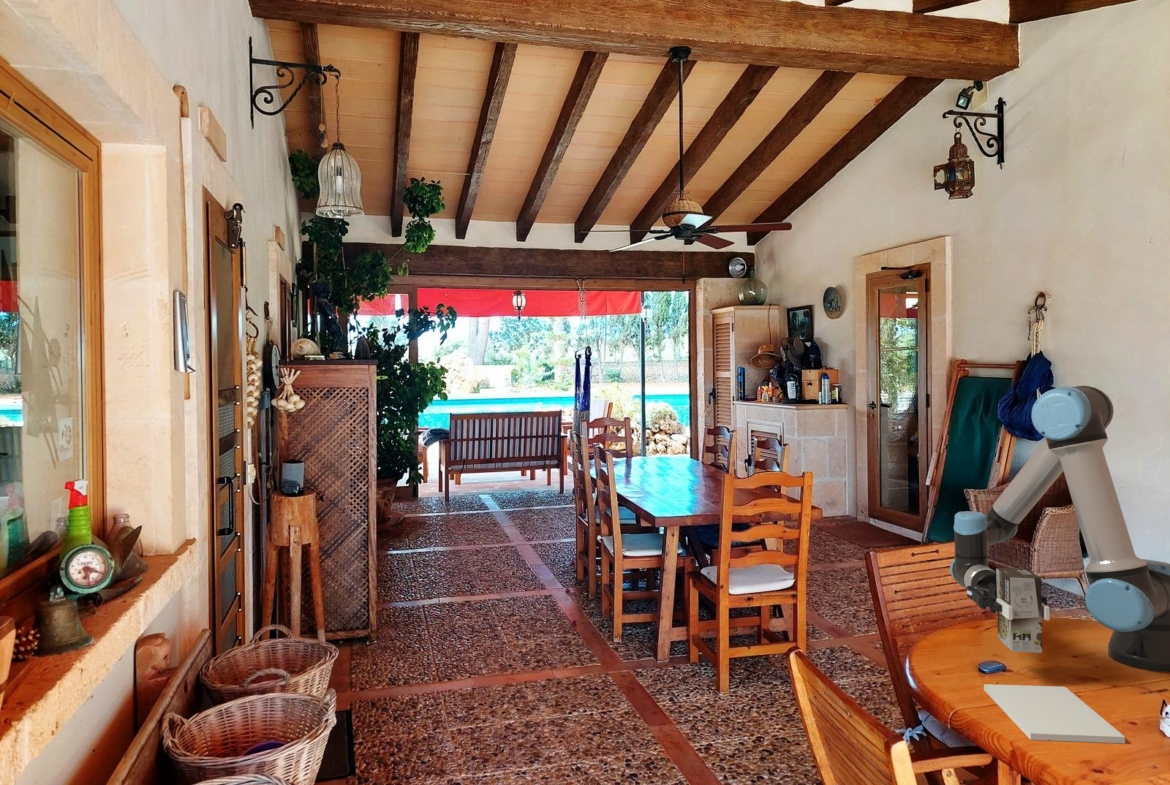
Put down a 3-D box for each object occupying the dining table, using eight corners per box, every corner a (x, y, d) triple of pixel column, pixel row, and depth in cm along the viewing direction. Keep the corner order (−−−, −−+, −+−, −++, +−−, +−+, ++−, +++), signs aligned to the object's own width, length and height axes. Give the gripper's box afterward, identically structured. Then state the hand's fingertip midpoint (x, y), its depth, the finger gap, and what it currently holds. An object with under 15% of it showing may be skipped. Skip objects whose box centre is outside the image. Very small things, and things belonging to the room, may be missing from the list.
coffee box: (1043, 653, 163) (1042, 577, 162) (1010, 652, 164) (1009, 577, 164) (1028, 639, 172) (1026, 567, 171) (996, 637, 173) (995, 566, 173)
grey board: (1064, 692, 160) (1064, 686, 160) (1125, 743, 138) (1125, 737, 138) (983, 689, 162) (983, 684, 162) (1030, 739, 141) (1030, 733, 140)
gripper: (1030, 600, 184) (1079, 631, 161) (944, 599, 187) (980, 630, 164) (1029, 569, 184) (1078, 596, 161) (943, 569, 187) (979, 595, 164)
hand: (1029, 613), depth 163 cm, fingers closed on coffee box, 7 cm apart
